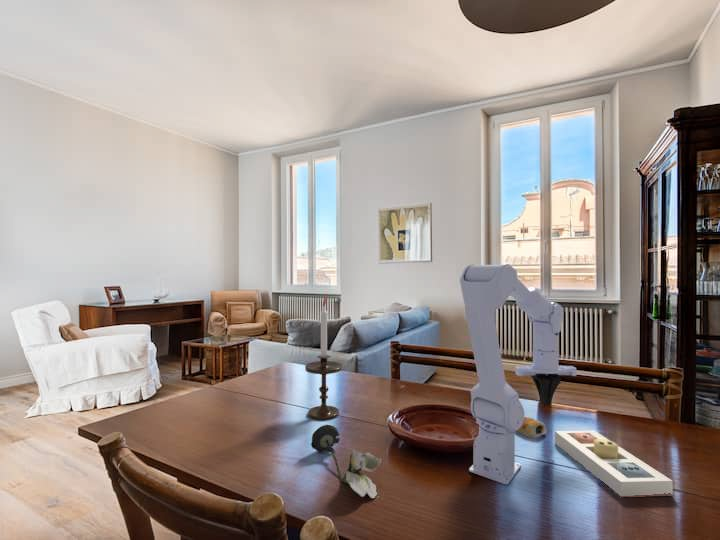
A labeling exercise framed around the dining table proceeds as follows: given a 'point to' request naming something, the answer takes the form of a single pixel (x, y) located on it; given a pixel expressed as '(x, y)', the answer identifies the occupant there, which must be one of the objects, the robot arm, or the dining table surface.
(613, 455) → the mustard button
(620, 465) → the slate button
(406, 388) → the dining table surface
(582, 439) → the terracotta button
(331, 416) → the candlestick
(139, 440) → the dining table surface
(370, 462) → the artificial flower
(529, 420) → the pastry
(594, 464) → the button panel
